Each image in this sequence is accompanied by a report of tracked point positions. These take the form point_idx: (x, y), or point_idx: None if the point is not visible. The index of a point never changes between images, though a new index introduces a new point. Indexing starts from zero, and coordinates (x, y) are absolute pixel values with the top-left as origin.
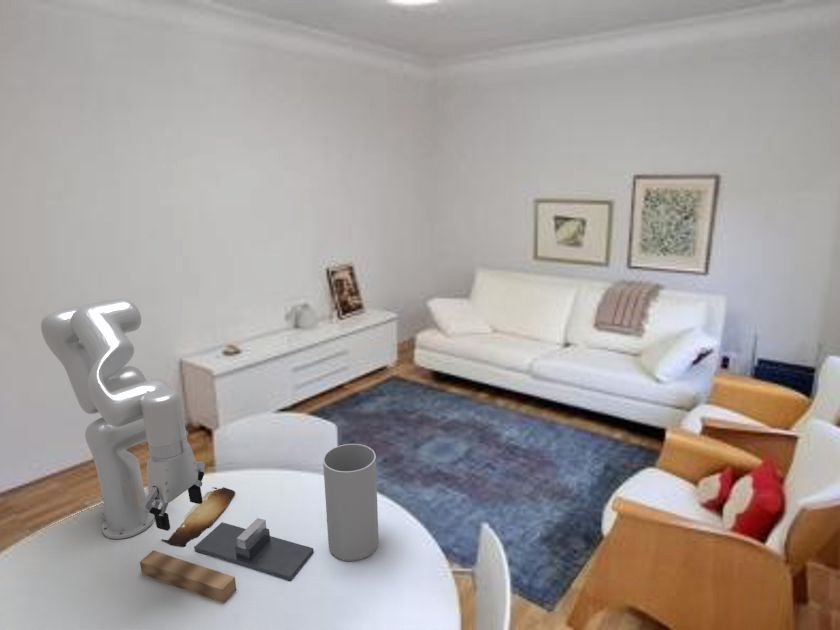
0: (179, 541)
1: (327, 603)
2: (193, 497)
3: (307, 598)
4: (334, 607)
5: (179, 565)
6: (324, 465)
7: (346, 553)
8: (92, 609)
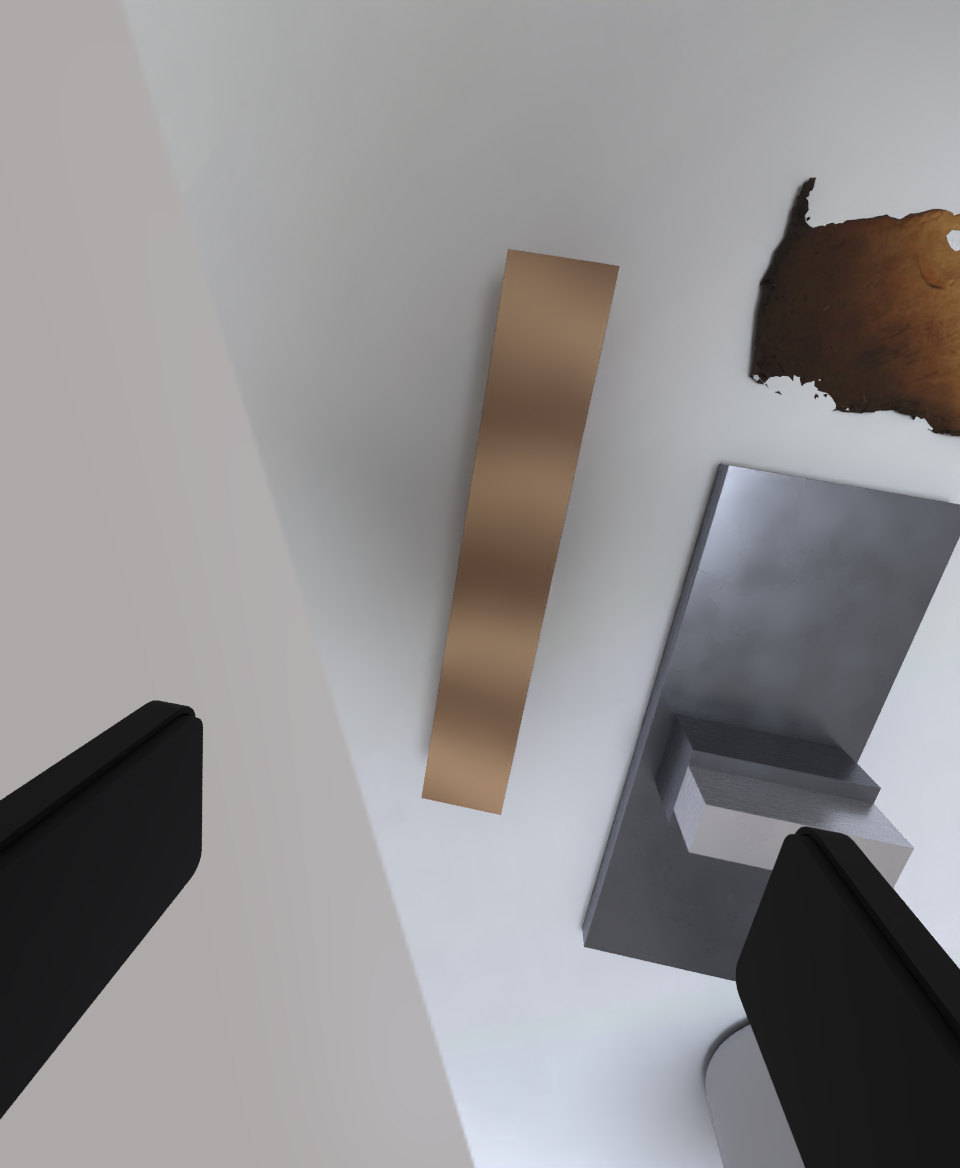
0: (792, 322)
1: (508, 1041)
2: (812, 992)
3: (515, 989)
4: (497, 1059)
5: (521, 524)
6: None
7: (714, 1118)
8: (255, 191)
